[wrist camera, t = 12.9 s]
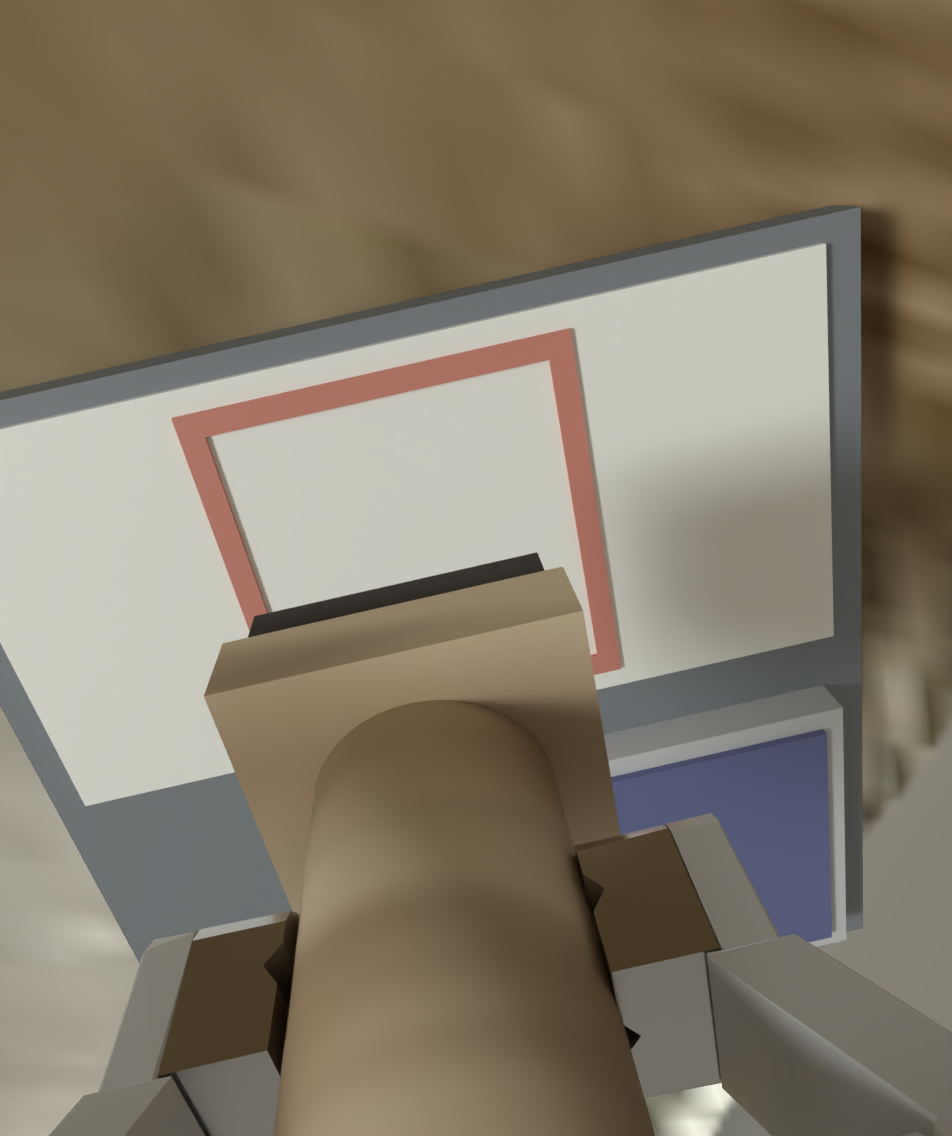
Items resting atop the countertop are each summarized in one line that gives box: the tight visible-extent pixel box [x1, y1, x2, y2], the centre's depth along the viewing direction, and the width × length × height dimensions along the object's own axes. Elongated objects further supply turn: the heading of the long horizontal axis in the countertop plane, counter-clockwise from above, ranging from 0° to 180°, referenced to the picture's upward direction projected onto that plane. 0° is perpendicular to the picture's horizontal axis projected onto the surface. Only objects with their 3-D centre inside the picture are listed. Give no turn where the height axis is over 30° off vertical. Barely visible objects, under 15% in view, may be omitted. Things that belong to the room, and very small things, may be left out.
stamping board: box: [0, 206, 863, 963], centre depth 20 cm, size 20×20×2 cm
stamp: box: [204, 552, 655, 1136], centre depth 9 cm, size 4×4×8 cm
